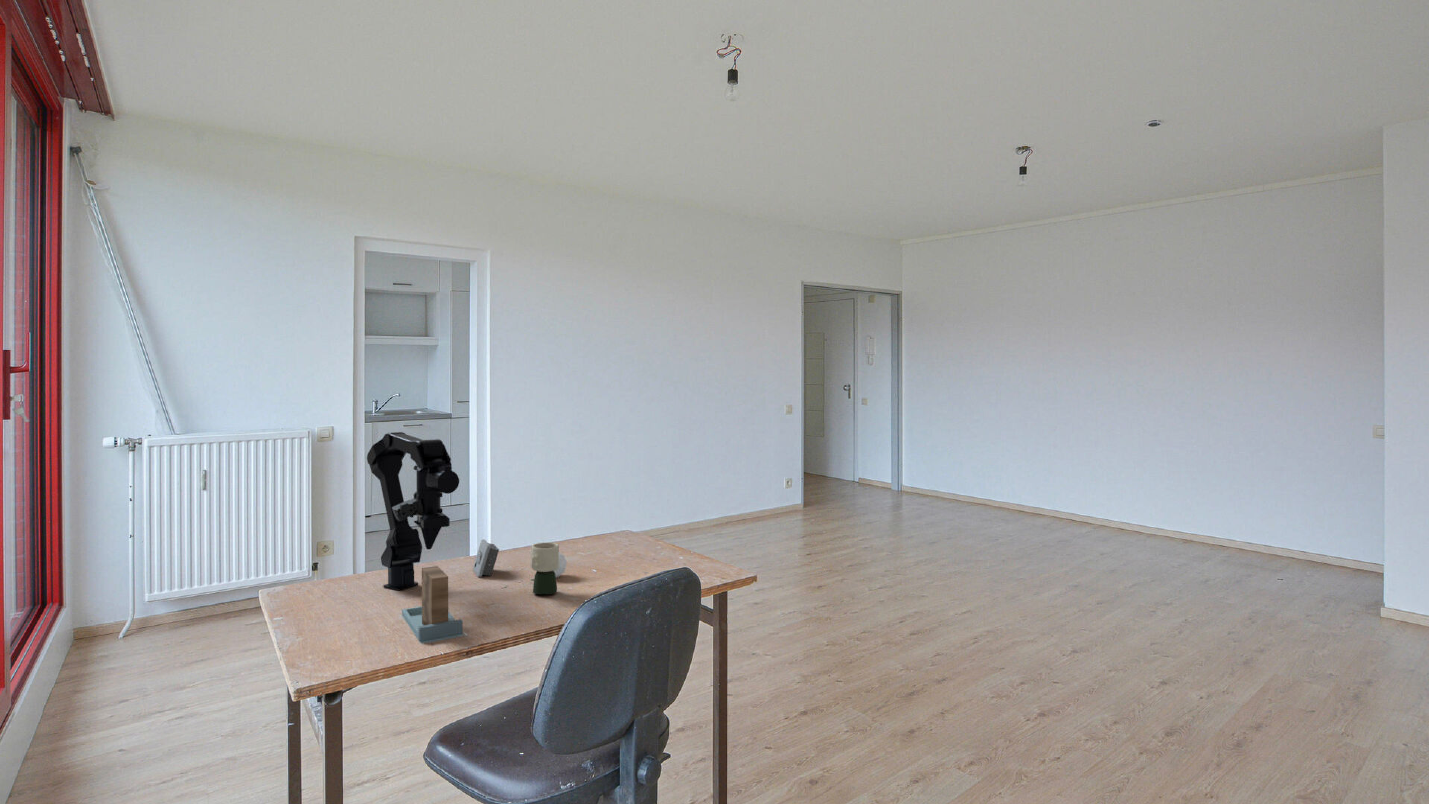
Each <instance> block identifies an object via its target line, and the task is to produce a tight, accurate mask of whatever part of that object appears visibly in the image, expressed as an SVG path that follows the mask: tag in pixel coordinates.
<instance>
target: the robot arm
mask: <svg viewBox="0 0 1429 804" xmlns="http://www.w3.org/2000/svg"><path fill="white" fill-rule="evenodd" d="M407 454H408V455H409V457H410V460H412V461H413V462H414V463H415V465H414V466H413V470H414V471H416V491H415V492H414V493H413V498H411V499H408V500H405V499H404V496H403V495H404V494H403V490H402V485H401V481H400V477H399V475H400V472H401V470H402V468H403V459H404V457H406V455H407ZM366 461H367V464H368V465H369V468H370V471H371V472H370V473H372V474H373V476H375V477H376V478H377V479H378V481H379V482H380V488H381V491H382V493H381V494H382V497H383V503H384V506H385V511H386V517H387V520H388V526H389V533H388V534H387V535H388V536H387V538H386V541H385V544H386V547H385V549H384V551H383V553H382V554H381V556H380V563H381V565H382V566H383V567H386V568H387V573H388V574H387V580H388V581H387V583H386V584H383V585H382V588H385V589H390V590H396V591H402V590H406V589H408V588H411V587H415V586H418V585H419V582H418V581H415V567H414V564H416V563H418V564H419V563H420V562H421V558H422V552H423V544H422V541H421V539H420V532H419V531H418V529H417V528H413V527H412V526H411V525H410V524H409V523H410V522H409V519H408V518H411V519H412V518H414V516H416V520H413V522H414V523H415V524H416V526H418V527H419V528H420V530H421V534H422V538H423V541H424V545H425V549H426V550H431V549H432V548H433V546H434V544H435V543H436V542H435V541H436V539H437V537H438V535H439V534H440V532H441V529H442V528H446V527H450V523H451V522H450V520H451V519H450V517H448V515H446V514H444V513H443V508H442V507H441V498H443V494H446V495H447V494H452V493H454V492H455V491H456V490H457V489H458V487H459V485H460V478H459V475H458V474H457V472H455V471H453V468H452V462H451V461H452V459H451V457H450V455H449V453H448V451H447V447H446V446H445V444H444V442H443V441H442V440H441V439H439V438H437V439H434V438H433V439H421V438H419V437H414V436H412V435H409V434H407V433H405V432H403V431H398V432H397V431H396V432H387V433H385V434H384V435H383V437H382V438H381V439H380V440H378V441H377V442H376V443H374V444H373V445H372V446H371V448H370V449H369V451H368V452H367V456H366Z"/></svg>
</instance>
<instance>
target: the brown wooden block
mask: <svg viewBox="0 0 1429 804" xmlns="http://www.w3.org/2000/svg"><path fill="white" fill-rule="evenodd" d="M421 606H422V624H423V625H429V624H435V623H441V622H447V621H448V612H449V576H448V574H446V573H445V572H444V571H443V569H441V568H440V567H439V566H438V565H434V566H427V567H422V568H421Z"/></svg>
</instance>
